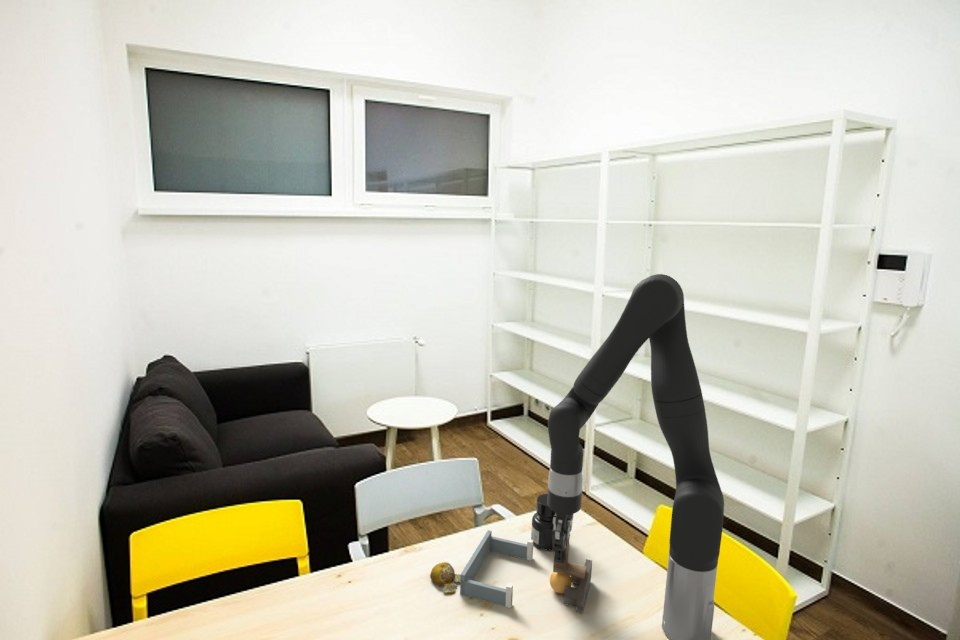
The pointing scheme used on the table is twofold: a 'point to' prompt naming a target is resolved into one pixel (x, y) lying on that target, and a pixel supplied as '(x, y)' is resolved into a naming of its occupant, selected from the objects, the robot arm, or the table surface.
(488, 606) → the table surface
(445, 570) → the fruit
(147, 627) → the table surface
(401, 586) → the table surface
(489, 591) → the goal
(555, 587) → the ball
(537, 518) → the ink bottle
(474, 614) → the table surface
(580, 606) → the kicker
